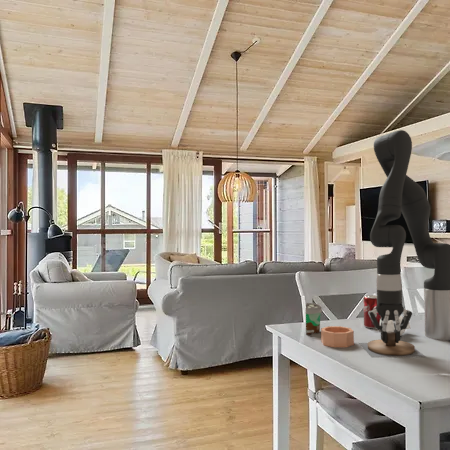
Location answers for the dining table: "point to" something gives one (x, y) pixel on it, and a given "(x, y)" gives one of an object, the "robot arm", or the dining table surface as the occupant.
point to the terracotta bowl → (337, 336)
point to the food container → (313, 318)
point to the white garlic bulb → (391, 326)
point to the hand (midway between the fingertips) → (390, 342)
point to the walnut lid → (391, 346)
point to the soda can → (370, 305)
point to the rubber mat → (373, 354)
